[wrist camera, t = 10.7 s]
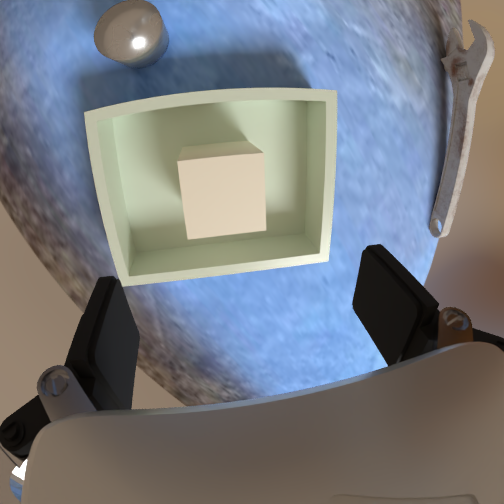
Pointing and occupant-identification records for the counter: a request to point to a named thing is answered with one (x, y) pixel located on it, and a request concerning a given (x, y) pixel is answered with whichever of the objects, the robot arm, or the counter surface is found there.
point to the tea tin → (132, 34)
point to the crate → (168, 185)
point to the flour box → (222, 189)
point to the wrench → (460, 117)
